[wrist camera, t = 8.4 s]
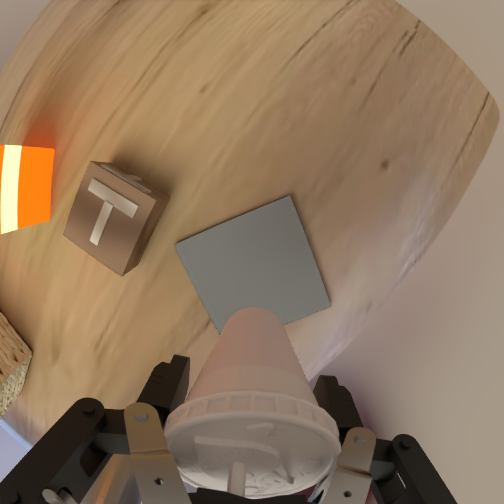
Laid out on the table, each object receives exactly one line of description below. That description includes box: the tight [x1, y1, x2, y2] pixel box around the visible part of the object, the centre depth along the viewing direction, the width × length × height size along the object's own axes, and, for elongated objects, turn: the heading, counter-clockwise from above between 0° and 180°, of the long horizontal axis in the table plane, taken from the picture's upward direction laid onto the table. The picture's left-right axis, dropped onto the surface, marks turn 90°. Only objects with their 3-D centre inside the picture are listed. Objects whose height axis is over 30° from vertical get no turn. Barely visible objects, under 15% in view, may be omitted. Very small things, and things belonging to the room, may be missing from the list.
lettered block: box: [63, 161, 170, 277], centre depth 24 cm, size 8×8×4 cm
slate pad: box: [174, 195, 331, 335], centre depth 27 cm, size 12×12×1 cm
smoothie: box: [163, 307, 342, 499], centre depth 10 cm, size 6×6×14 cm
